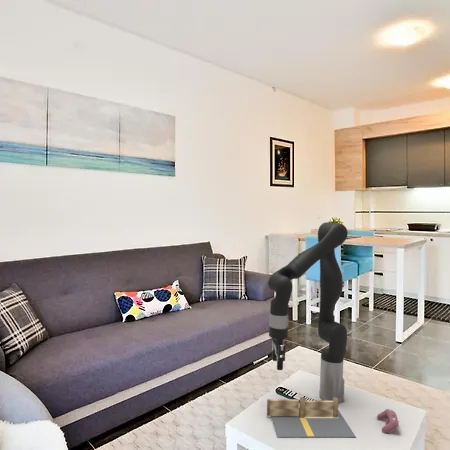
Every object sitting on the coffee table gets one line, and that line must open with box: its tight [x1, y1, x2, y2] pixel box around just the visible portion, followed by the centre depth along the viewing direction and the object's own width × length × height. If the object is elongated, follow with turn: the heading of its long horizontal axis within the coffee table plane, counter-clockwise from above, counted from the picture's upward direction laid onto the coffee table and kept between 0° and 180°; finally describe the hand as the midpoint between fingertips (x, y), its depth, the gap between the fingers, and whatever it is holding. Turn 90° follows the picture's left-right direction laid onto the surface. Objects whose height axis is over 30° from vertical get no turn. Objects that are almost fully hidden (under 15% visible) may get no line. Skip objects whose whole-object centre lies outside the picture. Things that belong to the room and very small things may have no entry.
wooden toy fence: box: [299, 396, 339, 418], centre depth 139 cm, size 15×2×8 cm, turn 93°
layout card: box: [270, 409, 357, 439], centre depth 136 cm, size 28×18×1 cm, turn 93°
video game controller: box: [376, 408, 400, 434], centre depth 134 cm, size 10×5×7 cm, turn 169°
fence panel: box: [266, 398, 300, 417], centre depth 139 cm, size 12×1×6 cm, turn 93°
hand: (277, 365), depth 144 cm, fingers open, 8 cm apart
